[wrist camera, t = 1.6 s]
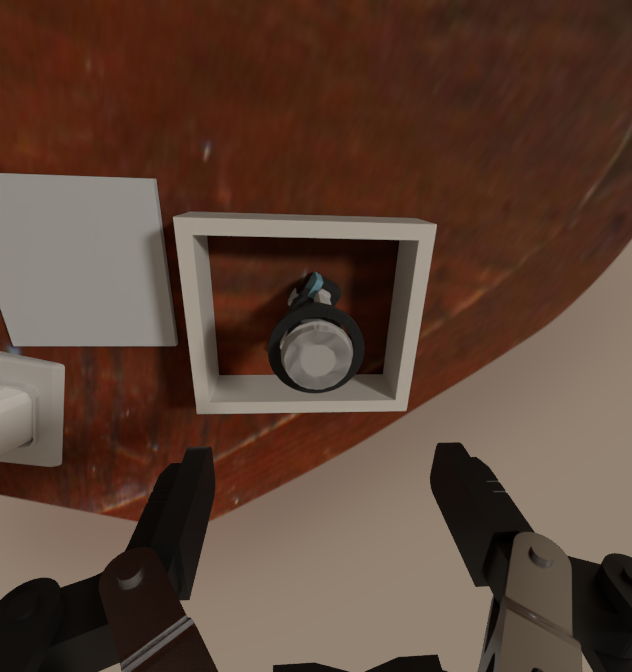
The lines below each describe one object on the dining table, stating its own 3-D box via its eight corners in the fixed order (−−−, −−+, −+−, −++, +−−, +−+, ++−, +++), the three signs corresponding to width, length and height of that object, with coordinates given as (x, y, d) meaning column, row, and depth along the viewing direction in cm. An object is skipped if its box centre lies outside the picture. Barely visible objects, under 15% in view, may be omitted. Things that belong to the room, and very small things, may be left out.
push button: (310, 356, 30) (320, 434, 20) (253, 326, 28) (237, 396, 19) (355, 290, 28) (388, 344, 18) (296, 254, 26) (300, 293, 17)
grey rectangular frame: (208, 385, 30) (197, 414, 26) (190, 211, 24) (172, 217, 21) (392, 383, 31) (406, 410, 28) (415, 218, 26) (437, 224, 22)
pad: (18, 342, 27) (13, 346, 27) (-39, 171, 23) (-47, 171, 22) (178, 342, 28) (176, 346, 28) (156, 178, 23) (152, 178, 23)
